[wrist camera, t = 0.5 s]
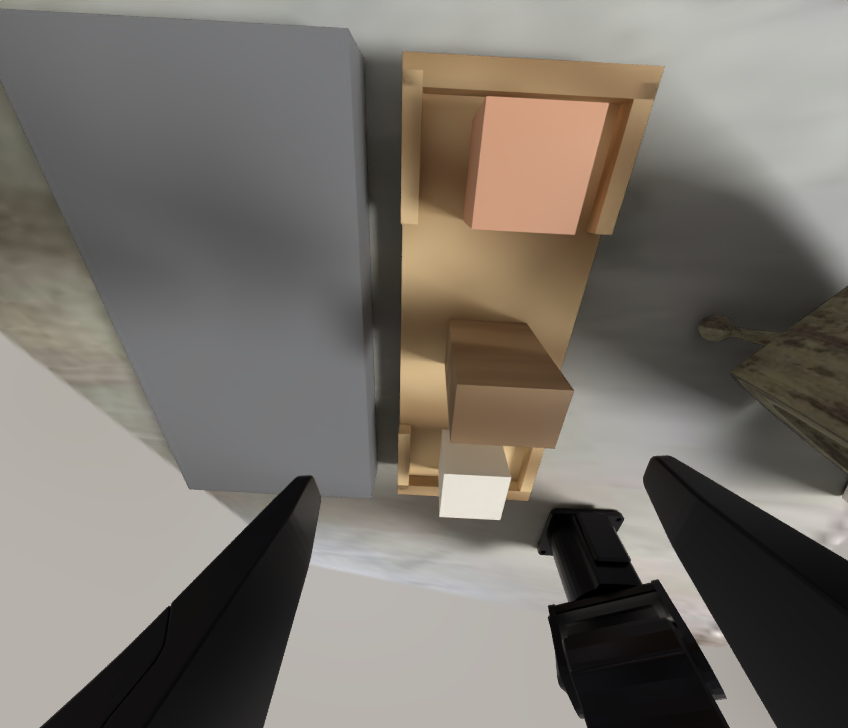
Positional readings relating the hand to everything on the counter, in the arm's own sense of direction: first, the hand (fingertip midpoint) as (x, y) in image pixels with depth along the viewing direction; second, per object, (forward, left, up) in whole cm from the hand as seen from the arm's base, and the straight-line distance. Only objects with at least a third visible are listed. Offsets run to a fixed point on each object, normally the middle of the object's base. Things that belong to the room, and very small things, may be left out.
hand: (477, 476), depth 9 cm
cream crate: (-10, -2, -11) cm, 15 cm away
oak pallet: (-1, -2, -13) cm, 14 cm away
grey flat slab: (-1, +12, -13) cm, 18 cm away
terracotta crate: (+7, -2, -11) cm, 14 cm away
